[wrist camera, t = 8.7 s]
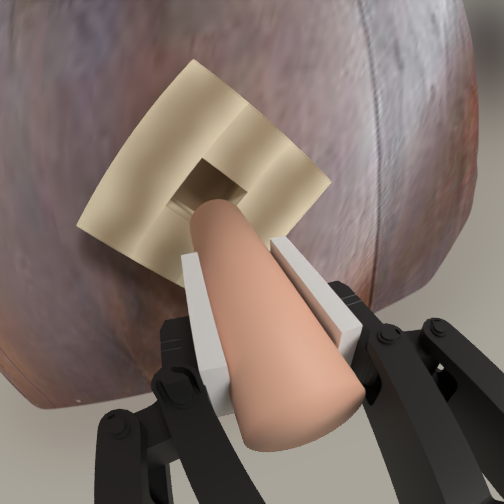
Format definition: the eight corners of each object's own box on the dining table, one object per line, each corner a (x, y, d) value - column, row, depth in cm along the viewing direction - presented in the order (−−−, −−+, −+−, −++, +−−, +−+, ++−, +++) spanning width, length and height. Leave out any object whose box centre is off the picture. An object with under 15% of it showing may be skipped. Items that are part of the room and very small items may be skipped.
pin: (178, 232, 18) (216, 448, 6) (212, 188, 17) (318, 370, 5) (221, 259, 20) (300, 452, 8) (254, 219, 19) (383, 391, 7)
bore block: (92, 202, 25) (76, 225, 20) (188, 70, 22) (193, 58, 17) (213, 275, 33) (222, 307, 28) (303, 167, 30) (331, 182, 25)
